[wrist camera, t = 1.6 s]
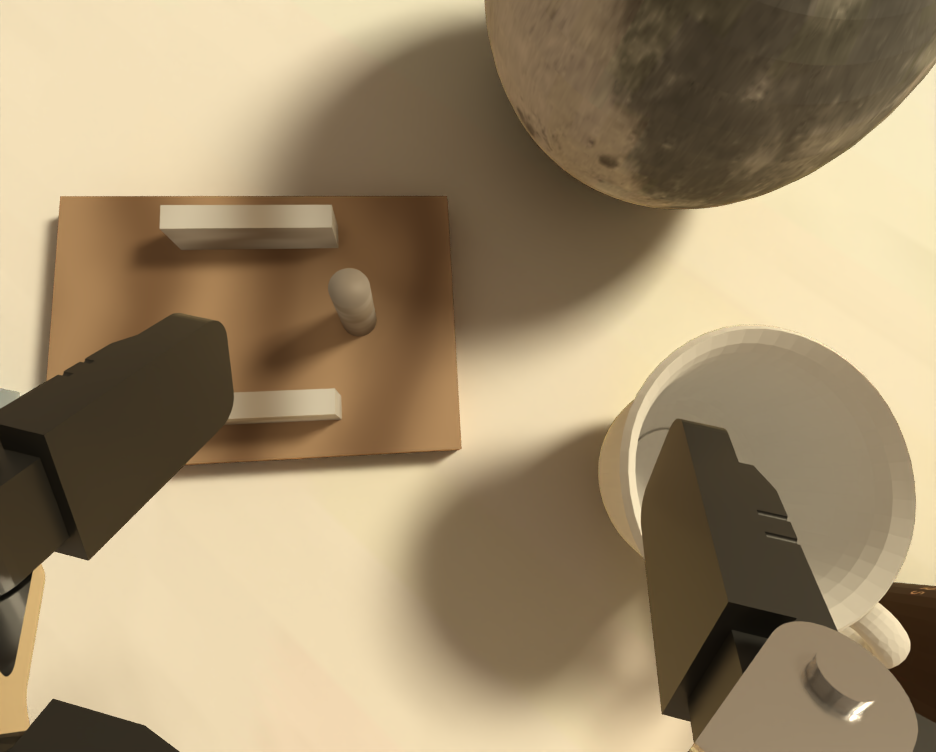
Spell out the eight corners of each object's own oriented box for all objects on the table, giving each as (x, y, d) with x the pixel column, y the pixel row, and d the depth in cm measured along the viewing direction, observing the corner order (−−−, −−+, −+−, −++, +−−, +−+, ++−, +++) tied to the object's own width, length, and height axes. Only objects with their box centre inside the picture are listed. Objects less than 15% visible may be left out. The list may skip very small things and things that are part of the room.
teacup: (675, 684, 28) (815, 795, 19) (508, 450, 30) (557, 439, 20) (831, 542, 31) (1029, 574, 21) (670, 330, 32) (786, 267, 22)
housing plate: (59, 471, 27) (-48, 471, 21) (77, 210, 29) (-14, 137, 23) (458, 449, 29) (472, 443, 23) (445, 209, 32) (454, 142, 25)
